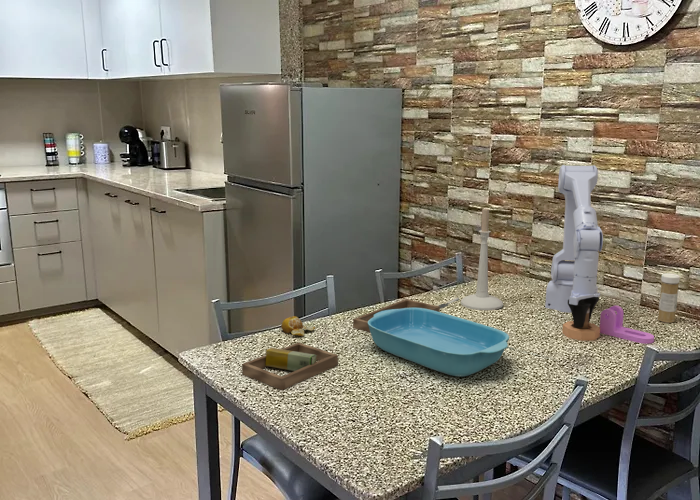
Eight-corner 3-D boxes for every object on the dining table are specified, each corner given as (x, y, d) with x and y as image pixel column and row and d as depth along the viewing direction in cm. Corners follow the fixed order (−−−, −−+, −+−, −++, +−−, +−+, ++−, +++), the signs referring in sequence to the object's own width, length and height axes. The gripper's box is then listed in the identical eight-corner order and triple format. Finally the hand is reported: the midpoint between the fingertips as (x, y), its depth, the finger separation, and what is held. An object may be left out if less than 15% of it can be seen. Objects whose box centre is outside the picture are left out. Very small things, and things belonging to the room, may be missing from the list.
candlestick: (457, 307, 193) (460, 209, 186) (464, 296, 204) (467, 203, 198) (500, 312, 188) (505, 211, 182) (504, 300, 200) (509, 205, 194)
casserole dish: (526, 362, 151) (527, 334, 150) (471, 391, 136) (473, 359, 134) (407, 326, 177) (408, 301, 175) (350, 347, 162) (350, 320, 160)
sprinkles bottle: (662, 316, 183) (667, 271, 180) (678, 321, 179) (683, 275, 176) (654, 320, 180) (658, 274, 177) (669, 324, 177) (674, 278, 174)
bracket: (599, 333, 171) (601, 308, 169) (608, 328, 174) (610, 304, 173) (648, 345, 161) (650, 319, 160) (657, 340, 165) (659, 314, 164)
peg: (572, 333, 168) (574, 307, 167) (577, 329, 171) (579, 304, 169) (585, 335, 166) (586, 310, 165) (589, 332, 169) (591, 307, 167)
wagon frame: (353, 327, 175) (353, 319, 175) (406, 306, 194) (406, 298, 193) (387, 337, 167) (387, 328, 167) (439, 314, 186) (439, 306, 185)
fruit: (298, 337, 166) (297, 324, 165) (274, 333, 171) (273, 320, 170) (317, 328, 173) (316, 315, 172) (293, 324, 177) (292, 312, 177)
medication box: (316, 371, 146) (317, 354, 145) (311, 374, 143) (312, 357, 143) (270, 363, 150) (270, 346, 149) (264, 366, 147) (265, 349, 147)
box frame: (242, 374, 144) (242, 364, 144) (298, 352, 158) (298, 342, 157) (281, 390, 136) (281, 379, 135) (338, 365, 149) (337, 355, 149)
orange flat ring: (558, 335, 168) (558, 326, 168) (571, 327, 175) (571, 318, 174) (590, 343, 163) (591, 334, 162) (602, 334, 169) (603, 325, 169)
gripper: (590, 283, 157) (586, 335, 160) (610, 272, 168) (606, 321, 171) (562, 278, 162) (559, 329, 165) (584, 268, 173) (580, 315, 176)
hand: (581, 324), depth 168 cm, fingers open, 3 cm apart
